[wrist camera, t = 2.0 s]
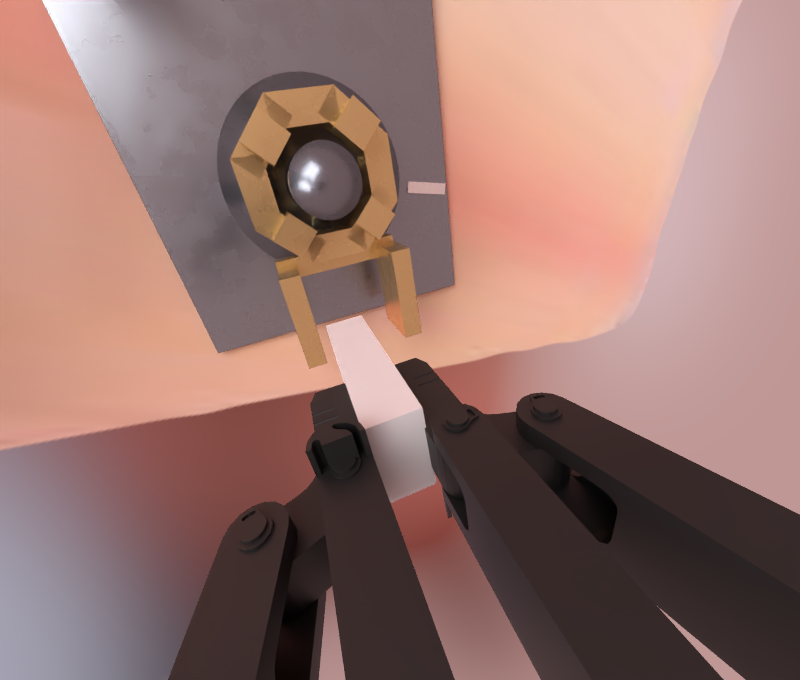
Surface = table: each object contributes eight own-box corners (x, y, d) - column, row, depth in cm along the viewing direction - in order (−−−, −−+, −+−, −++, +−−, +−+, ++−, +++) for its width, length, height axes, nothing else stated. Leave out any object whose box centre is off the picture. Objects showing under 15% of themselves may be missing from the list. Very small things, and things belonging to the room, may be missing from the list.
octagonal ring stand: (213, 106, 22) (200, 88, 17) (369, 88, 24) (391, 67, 20) (298, 345, 31) (303, 370, 26) (406, 312, 33) (426, 330, 29)
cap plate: (219, 349, 32) (204, 400, 25) (41, -11, 20) (-98, -131, 12) (451, 282, 39) (496, 306, 31) (424, -24, 26) (489, -110, 19)
